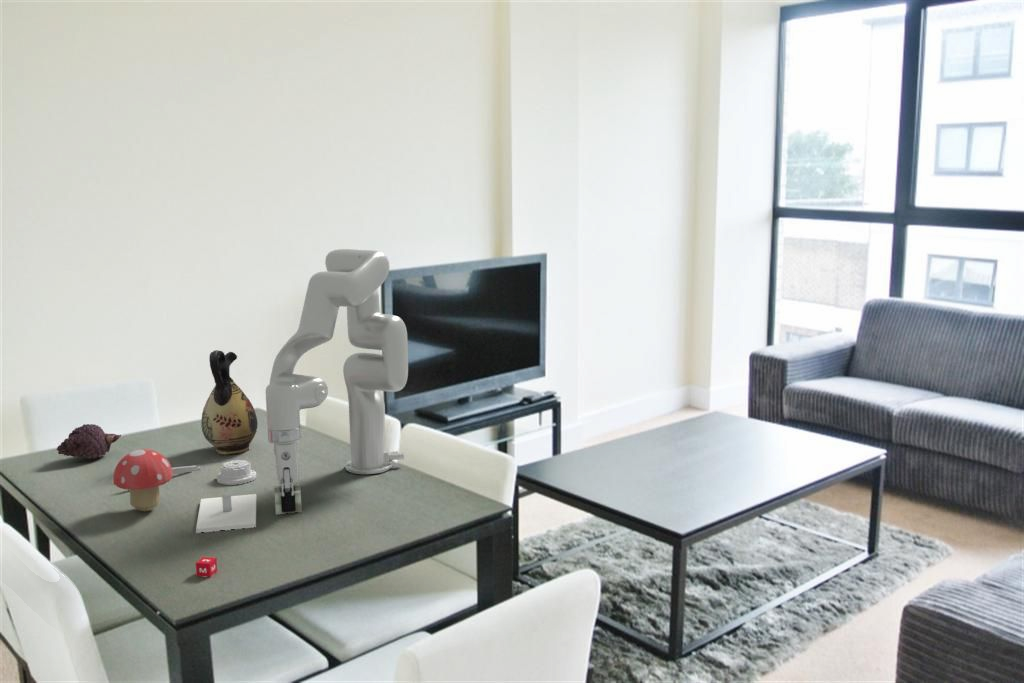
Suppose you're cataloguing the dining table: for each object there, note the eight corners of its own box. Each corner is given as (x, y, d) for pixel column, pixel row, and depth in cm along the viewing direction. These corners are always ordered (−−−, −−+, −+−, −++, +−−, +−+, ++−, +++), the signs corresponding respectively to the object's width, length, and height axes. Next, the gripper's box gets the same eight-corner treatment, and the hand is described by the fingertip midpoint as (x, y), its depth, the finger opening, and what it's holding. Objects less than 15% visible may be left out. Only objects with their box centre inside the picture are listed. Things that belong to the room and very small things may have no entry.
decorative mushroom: (105, 512, 229) (99, 452, 226) (157, 497, 239) (152, 439, 236) (134, 525, 221) (129, 463, 218) (186, 509, 231) (182, 449, 228)
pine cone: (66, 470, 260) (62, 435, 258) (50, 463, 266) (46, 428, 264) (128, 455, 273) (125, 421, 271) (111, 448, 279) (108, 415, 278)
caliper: (135, 491, 244) (133, 467, 243) (133, 490, 245) (131, 467, 244) (201, 469, 261) (200, 447, 259) (199, 469, 261) (197, 447, 260)
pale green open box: (300, 503, 234) (299, 483, 233) (301, 512, 228) (300, 492, 227) (275, 505, 232) (274, 486, 231) (275, 514, 227) (274, 494, 226)
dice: (196, 576, 194) (195, 562, 193) (203, 570, 196) (202, 556, 196) (210, 577, 193) (209, 563, 193) (217, 571, 196) (216, 557, 195)
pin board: (256, 497, 238) (255, 476, 237) (256, 527, 219) (254, 504, 218) (201, 502, 235) (199, 481, 234) (196, 533, 216) (194, 510, 215)
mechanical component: (209, 484, 248) (245, 487, 246) (208, 468, 248) (244, 470, 246) (228, 472, 258) (262, 474, 256) (227, 456, 257) (261, 458, 255)
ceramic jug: (217, 441, 285) (210, 342, 280) (267, 443, 283) (261, 343, 278) (191, 459, 269) (183, 354, 263) (243, 461, 267) (236, 355, 261)
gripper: (302, 443, 219) (305, 517, 223) (299, 423, 236) (302, 493, 239) (268, 445, 218) (272, 521, 221) (267, 425, 234) (271, 496, 237)
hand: (288, 505), depth 230 cm, fingers closed on pale green open box, 6 cm apart
